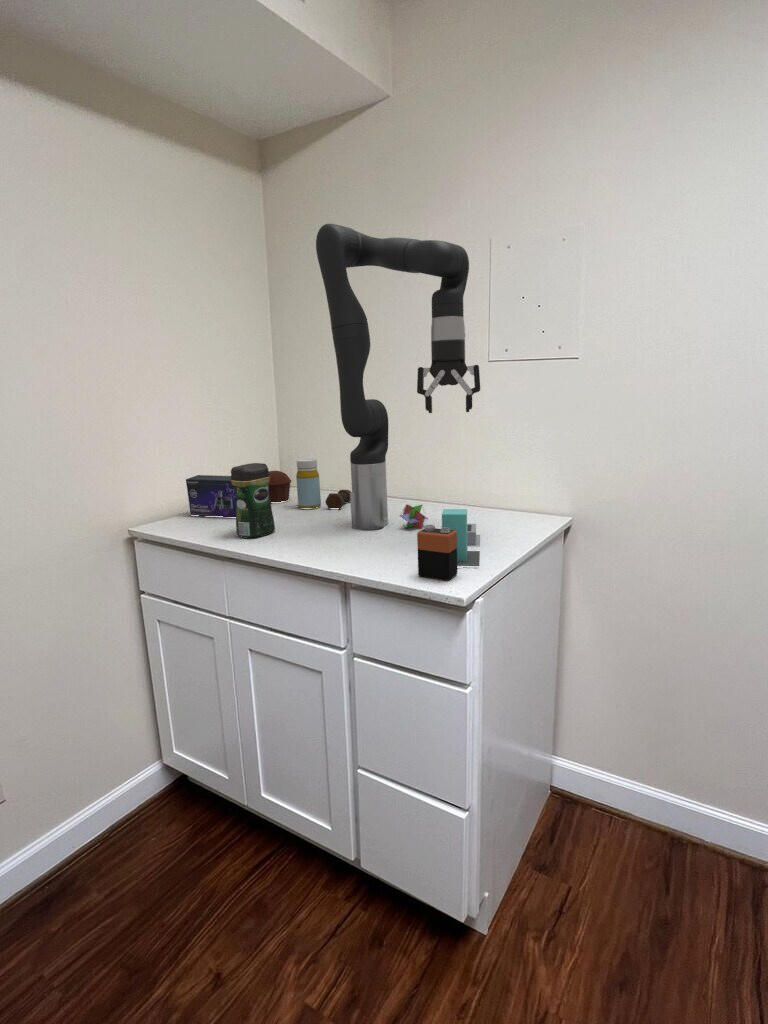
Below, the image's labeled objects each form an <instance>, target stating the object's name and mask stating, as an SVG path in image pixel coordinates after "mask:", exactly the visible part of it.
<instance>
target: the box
mask: <svg viewBox="0 0 768 1024" xmlns="http://www.w3.org/2000/svg"><path fill="white" fill-rule="evenodd" d="M185 483H186V485H185V486H186V489H187V497H188V506H189V512H190V516H191V515H199V516H223V517H236V497H235V490H234V487H233V485H232V482H231V475H212V474H211V475H208V474H207V475H206V474H205V475H203V474H197V475H195V476H191V477H188V478H185Z"/></svg>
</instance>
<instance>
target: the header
mask: <svg viewBox="0 0 768 1024" xmlns="http://www.w3.org/2000/svg"><path fill="white" fill-rule="evenodd" d="M440 527H441V528H442V526H440ZM441 528H440V529H441ZM467 547H475V548H476V547H477V548H478V547H481V534H477V523H467Z"/></svg>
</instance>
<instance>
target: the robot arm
mask: <svg viewBox="0 0 768 1024" xmlns="http://www.w3.org/2000/svg"><path fill="white" fill-rule="evenodd" d="M315 250H316V251H315V252H316V257H317V261H318V266H319V269H320V274H321V277H322V281H323V285H324V289H325V294H326V295H325V297H326V300H327V307H328V312H329V319H330V327H331V333H332V341H333V346H334V347H333V348H334V353H335V358H336V365H337V367H336V368H337V374H338V384H339V385H338V386H339V400H340V401H339V402H340V416H341V422H342V426H343V428H344V431H345V432H346V433H347V434H348V435H349V436H351V437H352V438H359V443H358V445H357V446H355V448H353V450H351V452H350V454H349V462H350V475H351V477H350V478H351V493H350V501H349V502H350V516H351V518H350V519H351V528H352V529H358V530H365V531H366V530H369V531H371V530H379V529H384V527H386V526H388V524H389V513H388V511H389V510H388V489H387V486H388V485H387V463H386V462H387V461H386V460H387V459H386V457H387V453H388V450H389V416H388V414H389V413H388V412H387V409H386V406H385V405H384V403H383V402H382V401H380V400H378V399H373V398H370V399H369V398H368V399H366V396H365V389H364V373H365V370H366V365H367V364H368V363H367V362H368V359H369V355H370V350H371V337H370V329H369V322H368V318H367V315H366V313H365V310H364V308H363V305H361V303H360V301H359V299H358V298H357V296H356V294H355V292H354V290H353V288H352V285H351V284H350V281H349V277H348V272H347V268H348V269H349V268H358V267H359V268H360V267H367V266H369V267H370V266H372V267H380V268H385V269H388V270H392V271H395V272H402V273H408V274H409V273H412V274H424V275H430V276H432V277H434V276H435V277H438V278H441V280H440V287H439V289H437V290H435V291H434V292H433V293H432V295H431V325H430V341H431V342H430V345H431V346H430V348H431V349H430V350H431V351H430V352H431V355H430V356H431V365H430V367H423V366H419V367H417V380H416V381H417V382H416V383H417V384H416V385H417V386H416V393H417V394H419V395H422V396H424V398H425V400H424V402H425V404H424V406H425V410H426V412H427V411H428V414H432V413H433V397H432V394H433V393H434V391H435V389H436V388H437V387H438V386H448V385H449V386H457V385H459V386H460V387H461V388H462V389H463V391H464V392H465V393H466V395H465V412H466V413H470V410H472V408H473V395H474V394H477V393H480V392H481V375H480V365H479V364H475V365H467V364H466V328H465V320H464V319H465V318H464V295H465V291H466V286H467V283H468V277H469V273H470V260H469V256H468V253H467V251H466V250H465V248H464V247H463V246H461V245H458V244H454V243H451V242H448V241H444V240H437V239H429V240H428V239H424V240H423V239H421V240H420V239H416V238H409V237H408V238H407V237H387V238H386V237H385V238H379V237H373V236H371V235H368V234H364V233H362V232H359V231H357V230H355V229H353V228H351V227H348V226H345V225H344V226H343V225H341V224H340V225H339V224H335V223H325V224H323V225H322V226H321V227H320V228H319V230H318V232H317V235H316V239H315ZM468 371H469V373H470V375H471V376H473V383H474V387H472V388H471V387H470V386H469V385H468V384H467V381H465V379H464V377H465V375H466V373H467V372H468ZM428 373H430V375H431V376H432V378H433V380H432V382H431V383H430V385H429V386H428V388H427V389H424V387H425V386H424V384H425V378H426V377H427V376H428Z"/></svg>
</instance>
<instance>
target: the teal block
mask: <svg viewBox="0 0 768 1024" xmlns="http://www.w3.org/2000/svg"><path fill="white" fill-rule="evenodd" d="M467 524H468V509H467V508H444V509H442V513H441V527H442V528H443V527H448V528H449V530H455V531H456V532H457V561H467V551H468V546H467Z"/></svg>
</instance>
